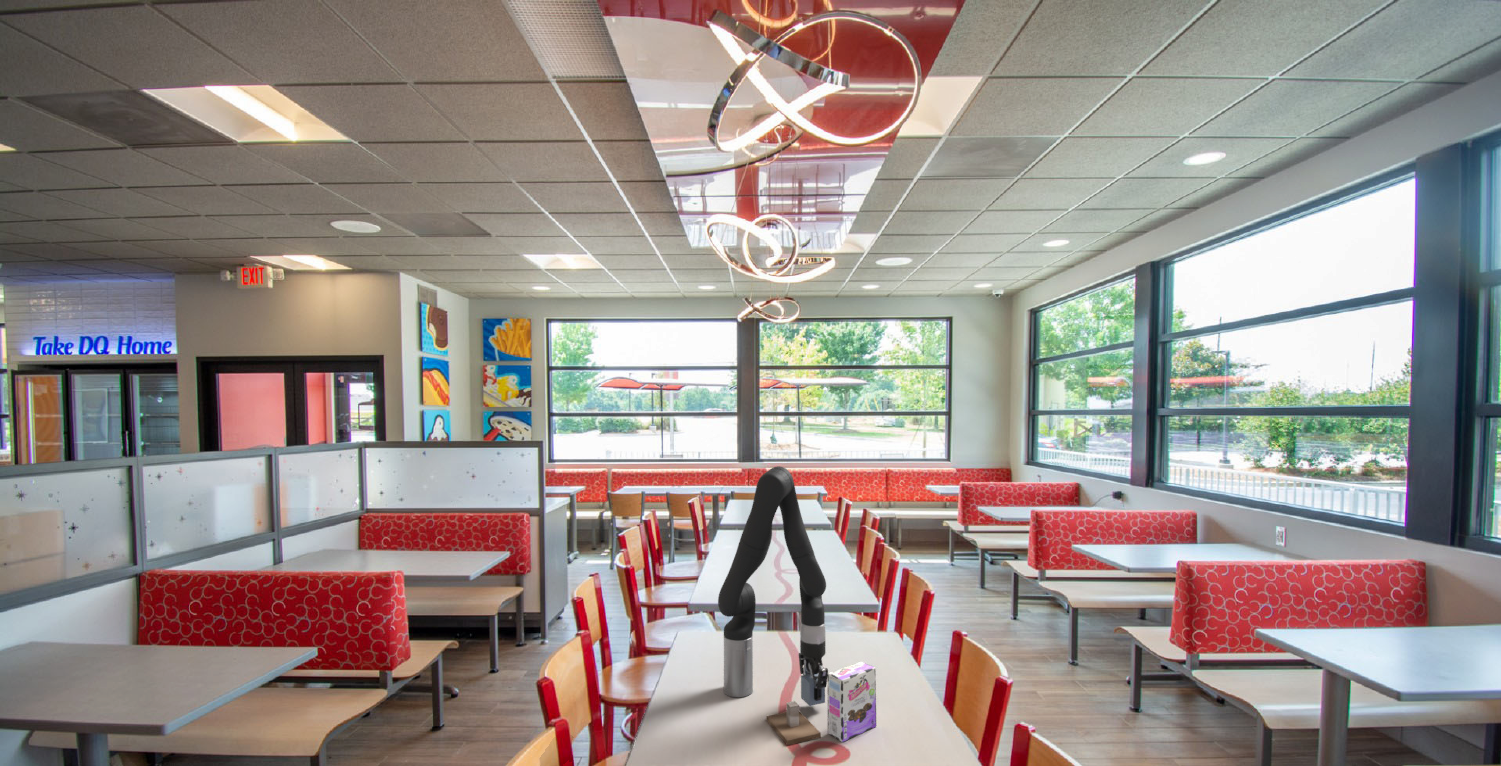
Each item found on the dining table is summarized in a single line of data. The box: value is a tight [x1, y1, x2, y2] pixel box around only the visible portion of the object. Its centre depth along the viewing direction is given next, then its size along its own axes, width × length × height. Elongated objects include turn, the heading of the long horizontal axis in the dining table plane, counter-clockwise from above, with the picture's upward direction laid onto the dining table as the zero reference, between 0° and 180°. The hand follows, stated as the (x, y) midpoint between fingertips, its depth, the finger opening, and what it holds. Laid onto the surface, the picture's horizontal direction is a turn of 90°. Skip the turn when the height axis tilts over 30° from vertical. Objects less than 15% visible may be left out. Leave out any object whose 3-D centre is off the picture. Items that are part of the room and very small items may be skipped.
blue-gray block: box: [800, 674, 826, 707], centre depth 177 cm, size 5×5×7 cm
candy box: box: [827, 661, 877, 743], centre depth 165 cm, size 14×6×16 cm, turn 126°
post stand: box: [765, 700, 822, 746], centre depth 166 cm, size 14×10×7 cm
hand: (812, 695), depth 177 cm, fingers closed on blue-gray block, 5 cm apart
